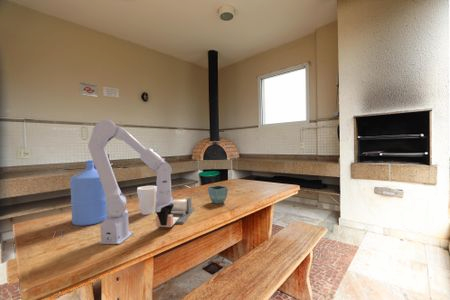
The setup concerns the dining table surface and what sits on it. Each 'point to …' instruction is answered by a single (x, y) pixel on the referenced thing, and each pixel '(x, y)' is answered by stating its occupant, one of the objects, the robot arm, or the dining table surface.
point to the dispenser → (182, 210)
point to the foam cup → (147, 199)
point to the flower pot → (217, 194)
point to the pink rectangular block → (168, 221)
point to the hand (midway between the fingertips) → (165, 223)
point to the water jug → (87, 197)
